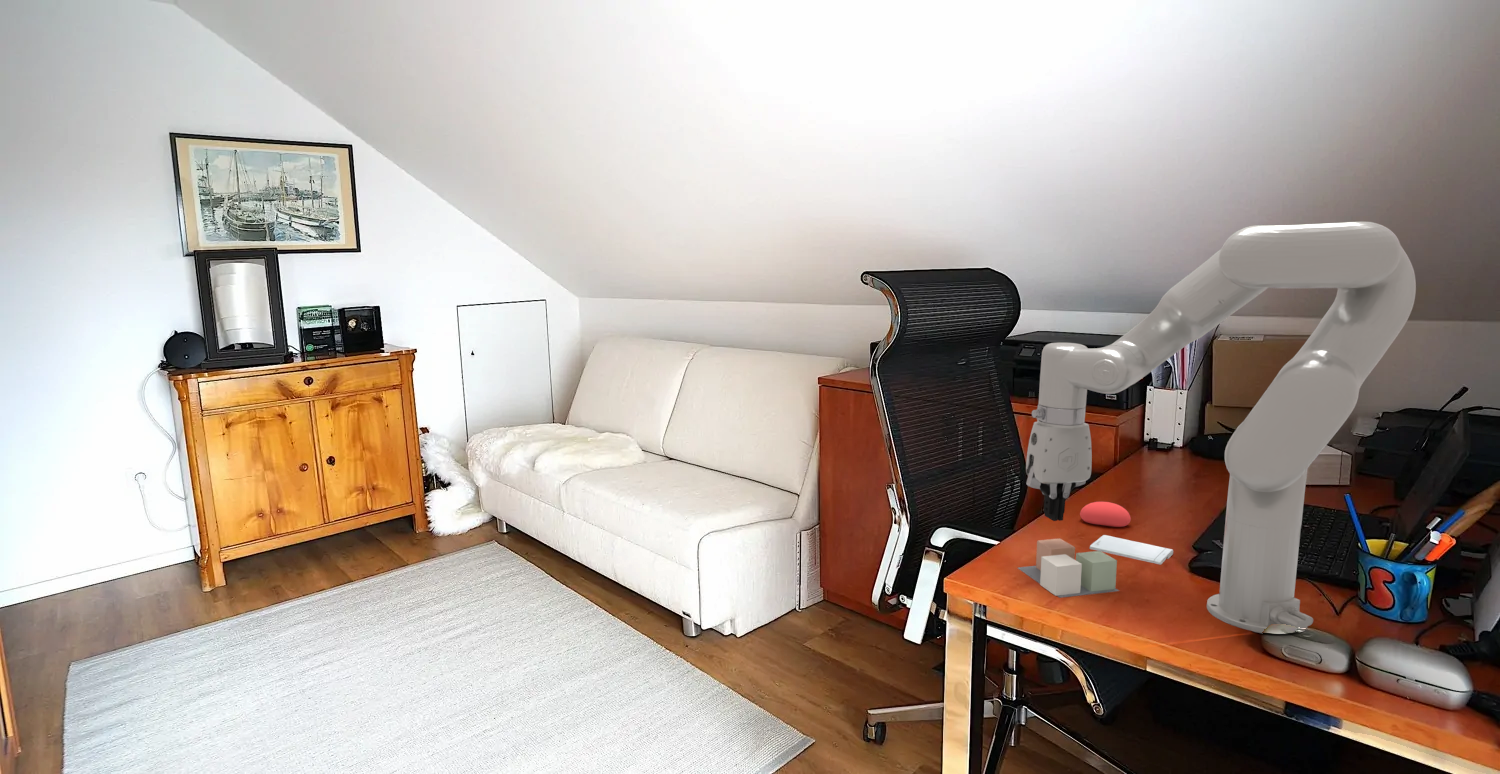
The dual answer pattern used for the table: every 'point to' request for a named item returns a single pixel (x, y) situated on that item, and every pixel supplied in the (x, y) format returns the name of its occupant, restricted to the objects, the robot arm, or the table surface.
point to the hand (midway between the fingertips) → (1053, 518)
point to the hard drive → (1132, 549)
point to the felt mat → (1036, 575)
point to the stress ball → (1105, 514)
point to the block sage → (1097, 571)
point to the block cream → (1060, 574)
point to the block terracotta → (1053, 549)
